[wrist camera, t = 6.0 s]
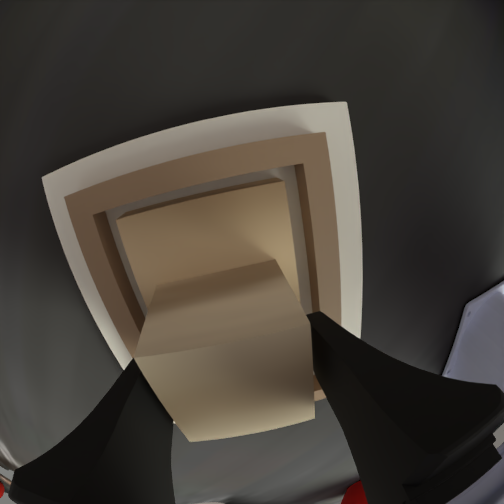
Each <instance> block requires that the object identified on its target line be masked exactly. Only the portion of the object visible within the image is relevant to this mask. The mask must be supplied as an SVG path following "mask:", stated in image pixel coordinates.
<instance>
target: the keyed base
mask: <svg viewBox="0 0 504 504" xmlns="http://www.w3.org/2000/svg"><path fill="white" fill-rule="evenodd" d="M276 177H277V178H279V179H281V180H283V181H285V186H286V193H287V200H288V206H289V213H290V221H291V228H292V235H293V243H294V251H295V259H296V267H297V276H298V285H299V294H300V304H301V307H302V309H303V311H304V312H305V314H306V315H307V314H310V313H314V312H318V311H321V312H323V313H324V314H326V315H327V316H328V317H330V318H331V319H332V320H334V321H335V322H336V323H338V324H339V325H340V326H342V327H343V328H345V329H346V330H347V331H349V332H350V333H352V334H353V335H355V336H356V337H358V338H359V339H360V336H361V318H362V281H363V266H362V230H361V212H360V198H359V186H358V176H357V167H356V159H355V151H354V144H353V137H352V130H351V124H350V118H349V112H348V107H347V102H329V103H313V104H301V105H291V106H282V107H274V108H267V109H260V110H253V111H247V112H241V113H236V114H230V115H225V116H220V117H215V118H211V119H206V120H202V121H197V122H193V123H189V124H185V125H181V126H177V127H174V128H170V129H166V130H163V131H159V132H156V133H152V134H149V135H146V136H143V137H140V138H137V139H134V140H131V141H128V142H125V143H122V144H119V145H116V146H113V147H111V148H108V149H105V150H103V151H100V152H97V153H95V154H92V155H90V156H88V157H85V158H83V159H80V160H78V161H76V162H73V163H71V164H69V165H67V166H64V167H62V168H60V169H58V170H56V171H54V172H52V173H50V174H47V175H45V176H43V177H42V182H43V186H44V190H45V193H46V197H47V201H48V204H49V208H50V211H51V215H52V218H53V221H54V224H55V227H56V230H57V233H58V236H59V239H60V242H61V245H62V247H63V250H64V253H65V255H66V258H67V260H68V263H69V265H70V268H71V270H72V273H73V275H74V277H75V280H76V282H77V284H78V287H79V289H80V291H81V293H82V295H83V297H84V300H85V302H86V304H87V306H88V308H89V310H90V312H91V314H92V316H93V318H94V320H95V322H96V323H97V325H98V327H99V329H100V331H101V333H102V335H103V336H104V338H105V340H106V342H107V343H108V345H109V347H110V349H111V350H112V352H113V354H114V355H115V357H116V359H117V360H118V362H119V363H120V365H121V367H122V368H123V370H125V368H126V367H127V365H128V364H129V363H130V361H131V360H132V359H133V357H134V355H135V351H136V348H137V344H138V341H139V338H140V334H141V331H142V328H143V325H144V322H145V319H146V316H147V313H148V309H147V307H146V304H145V302H144V300H143V297H142V295H141V292H140V289H139V287H138V284H137V282H136V279H135V276H134V274H133V271H132V268H131V265H130V263H129V260H128V257H127V254H126V251H125V248H124V245H123V242H122V239H121V236H120V233H119V230H118V226H117V223H116V219H118V218H119V217H120V216H121V215H122V214H124V213H125V212H128V211H131V210H135V209H138V208H142V207H146V206H149V205H153V204H157V203H161V202H165V201H169V200H173V199H177V198H181V197H185V196H189V195H193V194H198V193H202V192H206V191H211V190H215V189H220V188H225V187H229V186H234V185H239V184H244V183H249V182H254V181H260V180H265V179H271V178H276ZM313 378H314V401H317V400H320V399H324V398H326V396H325V394H324V392H323V390H322V388H321V386H320V384H319V382H318V380H317V378H316V376H315V374H314V371H313ZM173 423H175V421H173Z"/></svg>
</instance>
